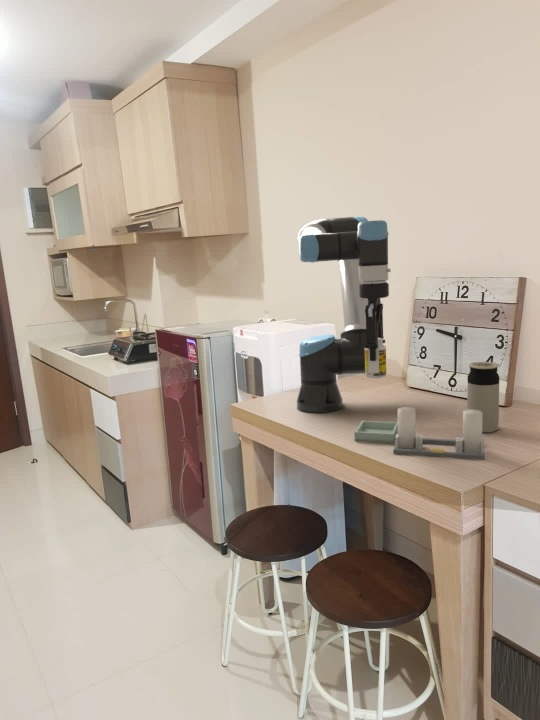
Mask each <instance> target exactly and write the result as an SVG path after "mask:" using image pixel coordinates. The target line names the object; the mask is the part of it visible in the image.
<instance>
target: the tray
mask: <svg viewBox="0 0 540 720" xmlns="http://www.w3.org/2000/svg"><path fill="white" fill-rule="evenodd" d="M360 421H361V422H360V423H359V425H358V426H357V428H356V429H355V430H354V441H355V442H364V443H365V442H366V443H378V444H379V443H380V444H395V437H396V434H398V421H395V422H394V421H378V420H377V421H376V420H375V421H374V420H360Z"/></svg>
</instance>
